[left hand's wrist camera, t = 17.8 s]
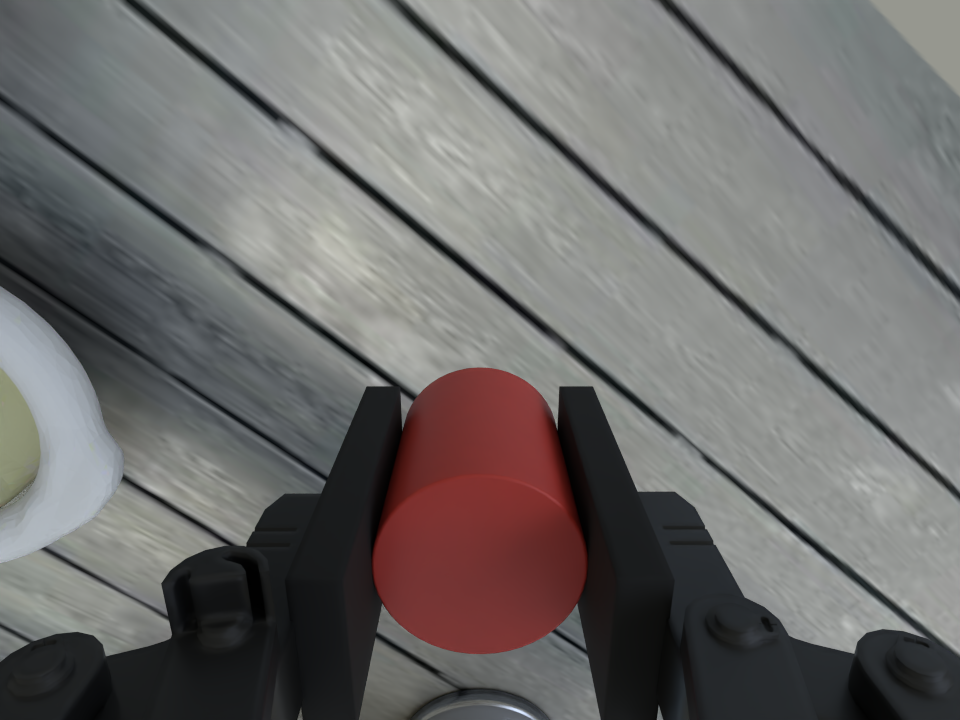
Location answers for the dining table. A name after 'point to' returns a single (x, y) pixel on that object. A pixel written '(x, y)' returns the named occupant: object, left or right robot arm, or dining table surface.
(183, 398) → the dining table surface
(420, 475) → the can
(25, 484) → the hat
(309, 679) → the left robot arm
